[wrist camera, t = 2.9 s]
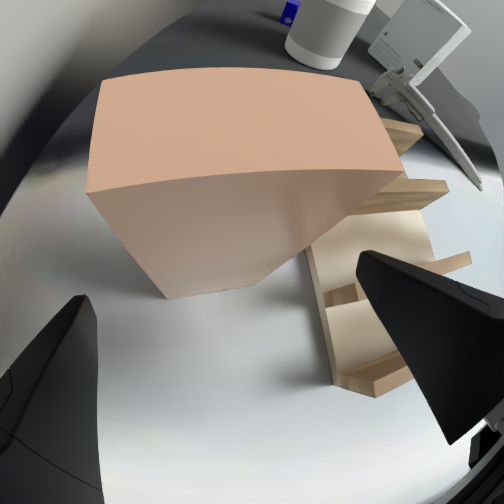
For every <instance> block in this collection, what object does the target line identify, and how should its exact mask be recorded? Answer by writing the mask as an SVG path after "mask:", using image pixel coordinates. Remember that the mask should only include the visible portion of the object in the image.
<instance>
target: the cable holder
mask: <svg viewBox="0 0 504 504" xmlns="http://www.w3.org/2000/svg"><path fill="white" fill-rule="evenodd" d="M300 4H301V2H299V1H296V0H289V1H287V3H286V6H285V9H284V11H283V14H282V17H281V20H280V23H283V24H285V25H288V26H290V27H291V26H292V24H293V21H294V19H295V16H296V14H297V11H298V9H299V6H300Z"/></svg>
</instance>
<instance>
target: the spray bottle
mask: <svg viewBox="0 0 504 504" xmlns="http://www.w3.org/2000/svg"><path fill="white" fill-rule="evenodd" d="M375 1H376V0H302V1H301V4H300V6H299V9H298V11H297V14H296V16H295V19H294V21H293V24H292V26H291V29H290V31H289V34H288V36H287V39H286V42H285V49H286V50H287V52H288V53H289V54H290V55H291V56H292V57H293V58H294V59H296V60H297V61H299V62H300V63H303V64H305V65H307V66H309V67H312V68H315V69H320V70H332V69H334V68H336V67H337V66H338V64H339V63H340V61H341V59H342V57H343V56H344V54H345V52H346V51H347V49H348V47H349V46H350V44H351V42H352V40H353V39H354V37H355V35H356V34H357V32H358V30H359V29H360V27H361V25H362V24H363V22H364V20H365V19H366V17H367V15H368V14H369V12H370V10H371V9H372V7H373V5H374V4H375Z"/></svg>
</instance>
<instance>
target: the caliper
mask: <svg viewBox="0 0 504 504" xmlns="http://www.w3.org/2000/svg"><path fill="white" fill-rule="evenodd" d="M404 72H405V66H403V67H402V68H400V69H399V70H397V69H396V68H395V67H393V68H391V69H390V70H388V71H386V72H385V73H383V74H382V75H381V76H380V77H379V79H378V80H377V81H376V83H375V84H374V85H373V87H372V88H371V90H370V96H371V97H372V96H373V95H375V94H376V93H378V92H379V91H381V90H383V89H384V88H386V87H387V86H389V85H390V84H391V86H392V87H393V88H394V89H395V90H394V91H393V92H391V93H389V94H388V95H386V96H385V98H383V99H381V104H382V105H384V106H385V105H389V104H393V103H397V102H400V101H404V102H405V103H406V104H407V108H408V109H409V111H410V113H411V114H413V115H414V116H415V117H416V119H417V121H418V122H420V121H422V120H425V122H426V123H427V124H428V125H429V126H430V127H431V128H432V130H433V131H434V132H435V133H436V134H437V136H438V137H439V138H440V139H441V141H442V142H443V143H444V144H445V146H446V147H447V148H448V149H449V151H450V152H451V153H452V155H453V156H454V157H455V159H456V160H457V162H458V163H459V164H460V166H461V167H462V169H463V170H464V172H465V173H466V175H467V176H468V178H469V179H470V180H471V181H472V182H473V183H474V184H475V185H476V186H478V188H479V190H480V191H482V184H481V183H482V178H481V177H480V175H479V173H478V172H477V170H476V169H475V167H474V165H473V164H472V162H471V161H470V159H469V158H468V156H467V155H466V153H465V152H464V151H463V149H462V148H461V146H460V145H459V144H458V142H457V141H456V140H455V138H454V137H453V136H452V134H451V133H450V132H449V130H448V129H447V128H446V127H445V125H444V124H443V123H442V122H441V120H440V119H439V118H438V117H437V116H436V114H435V111H434V108H433V106H432V105H431V104H430V103H429V102H428V101H427V99H426V98H425V97H424V96H423V95H422V94H421V93H420V92H419V91H418V89H417V88H416V87H415V86H414V85H413V84H412V83H411V82H410V81H408V80H410V79H411V78H413V73H406V74H404ZM406 81H408V82H406Z"/></svg>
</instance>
